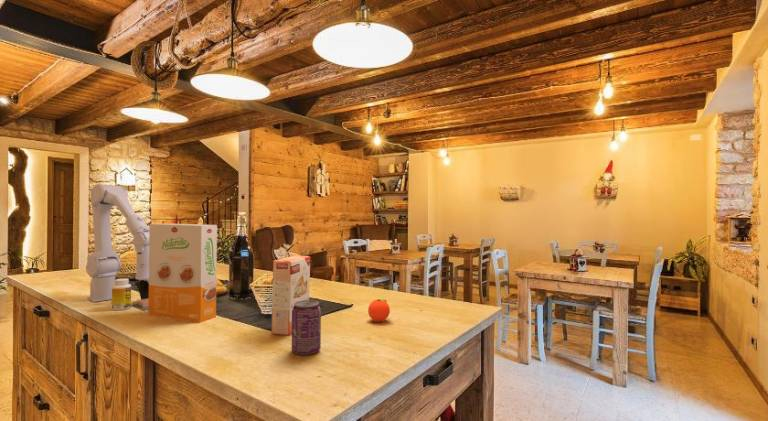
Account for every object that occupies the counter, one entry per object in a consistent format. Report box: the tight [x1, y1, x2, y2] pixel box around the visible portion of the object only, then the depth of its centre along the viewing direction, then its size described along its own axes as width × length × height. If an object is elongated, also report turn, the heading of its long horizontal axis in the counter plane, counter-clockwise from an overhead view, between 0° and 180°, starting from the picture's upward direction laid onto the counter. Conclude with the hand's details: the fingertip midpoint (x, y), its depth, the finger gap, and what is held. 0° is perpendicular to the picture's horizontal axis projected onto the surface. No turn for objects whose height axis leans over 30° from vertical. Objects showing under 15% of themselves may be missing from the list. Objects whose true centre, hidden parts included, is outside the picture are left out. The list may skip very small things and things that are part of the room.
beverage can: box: [291, 299, 322, 356], centre depth 94 cm, size 7×7×12 cm
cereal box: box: [148, 223, 218, 323], centre depth 123 cm, size 22×6×30 cm, turn 69°
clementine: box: [367, 298, 391, 323], centre depth 120 cm, size 8×7×7 cm
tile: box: [136, 298, 149, 308], centre depth 136 cm, size 2×6×6 cm
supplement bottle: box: [111, 278, 132, 311], centre depth 131 cm, size 6×6×10 cm
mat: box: [131, 303, 149, 311], centre depth 136 cm, size 11×9×1 cm
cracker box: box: [271, 255, 311, 336], centre depth 112 cm, size 14×6×21 cm, turn 168°
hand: (145, 301), depth 139 cm, fingers closed
